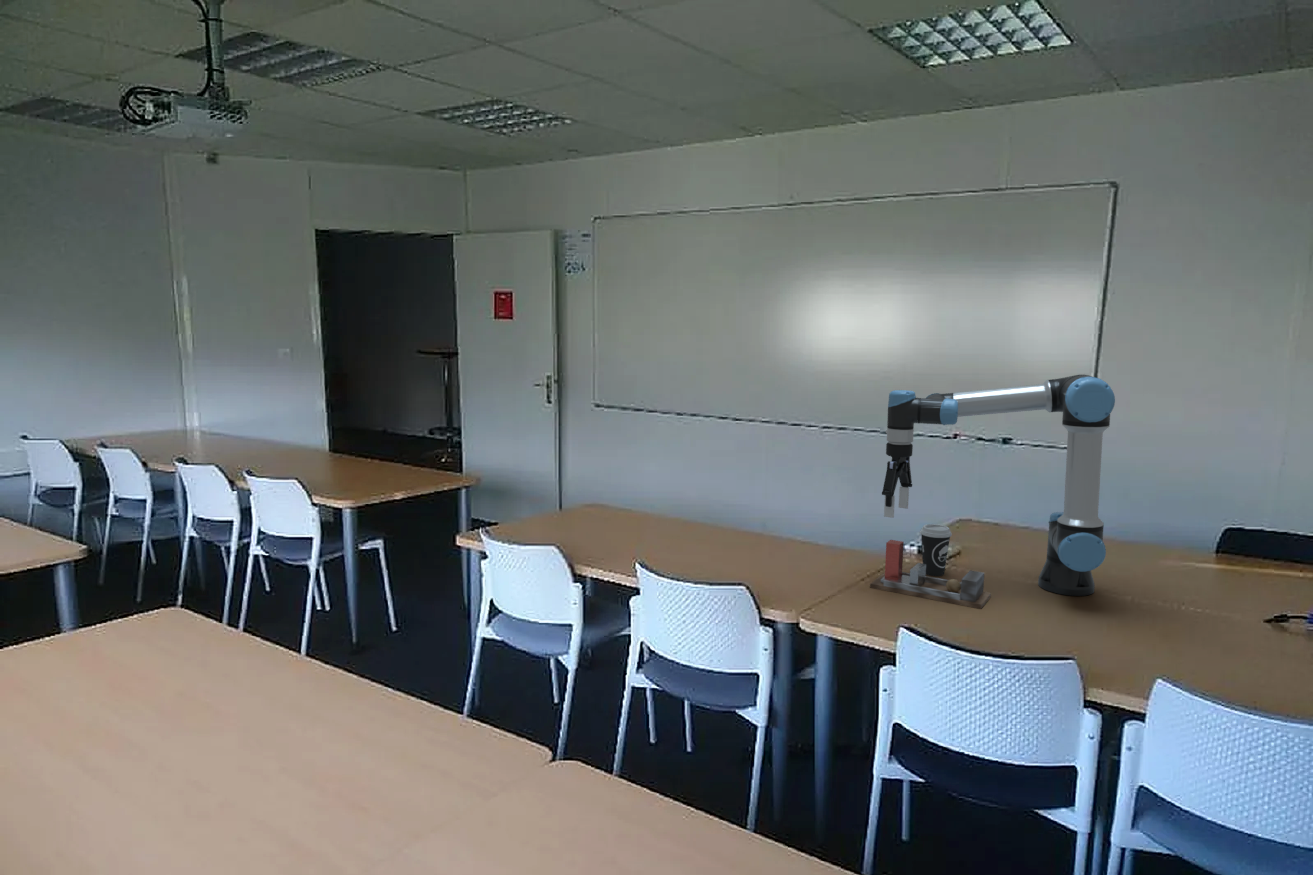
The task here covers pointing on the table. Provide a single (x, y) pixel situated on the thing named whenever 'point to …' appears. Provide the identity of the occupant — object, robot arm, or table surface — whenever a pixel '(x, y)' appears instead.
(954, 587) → the nut
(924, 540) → the coffee cup
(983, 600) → the bench
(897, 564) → the ram
